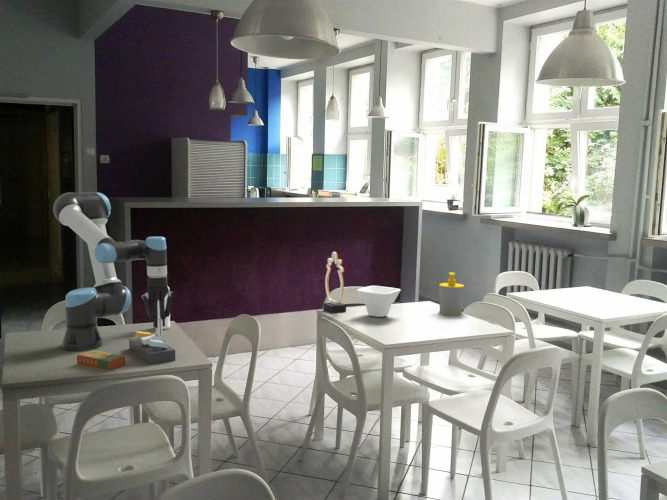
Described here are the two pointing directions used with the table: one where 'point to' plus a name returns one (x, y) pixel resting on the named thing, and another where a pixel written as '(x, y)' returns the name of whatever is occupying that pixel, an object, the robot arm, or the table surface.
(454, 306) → the soap bottle
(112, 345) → the table surface
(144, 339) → the rocker white
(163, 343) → the rocker blue
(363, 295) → the bowl
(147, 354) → the power strip
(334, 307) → the lamp
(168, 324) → the water bottle
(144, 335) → the rocker amber
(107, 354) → the carton
